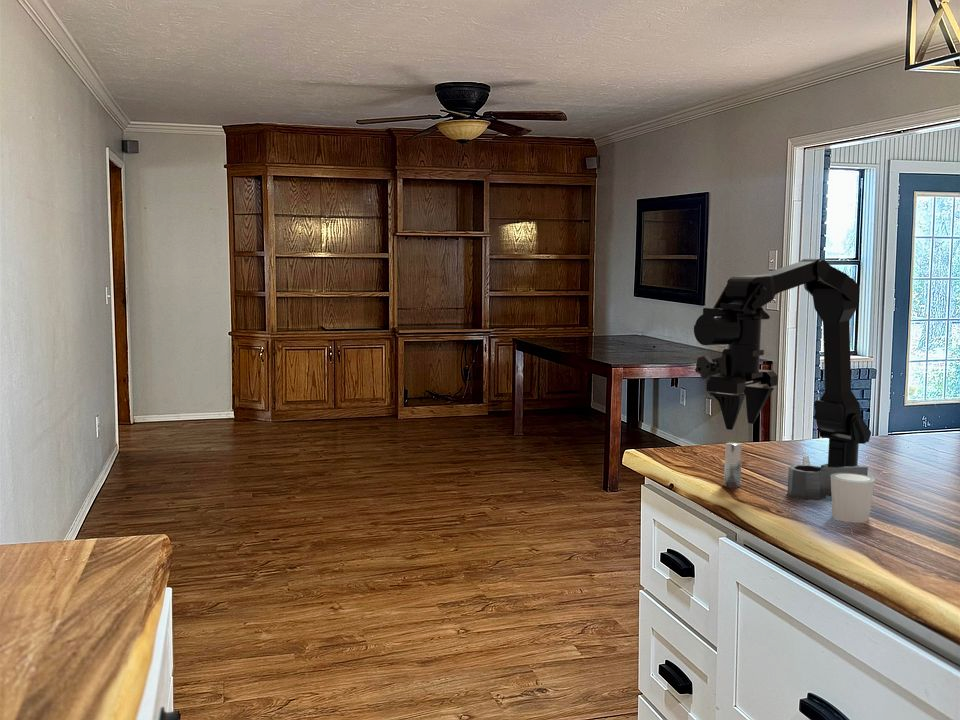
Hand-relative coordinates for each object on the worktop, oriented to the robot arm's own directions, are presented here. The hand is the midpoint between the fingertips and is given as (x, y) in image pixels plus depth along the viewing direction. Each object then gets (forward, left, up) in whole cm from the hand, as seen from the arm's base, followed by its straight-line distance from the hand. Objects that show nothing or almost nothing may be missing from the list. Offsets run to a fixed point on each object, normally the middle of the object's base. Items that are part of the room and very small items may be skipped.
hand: (740, 426), depth 165 cm
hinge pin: (0, -1, -12) cm, 12 cm away
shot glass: (+4, +24, -12) cm, 27 cm away
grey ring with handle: (-8, +12, -12) cm, 18 cm away
